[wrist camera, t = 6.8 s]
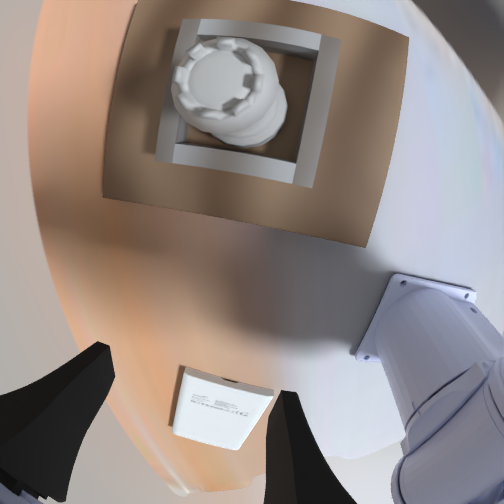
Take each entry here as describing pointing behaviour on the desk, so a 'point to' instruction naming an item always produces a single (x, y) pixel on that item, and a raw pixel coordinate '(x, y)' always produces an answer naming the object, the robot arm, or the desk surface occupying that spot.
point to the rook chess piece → (230, 91)
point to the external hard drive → (218, 409)
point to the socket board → (288, 138)
